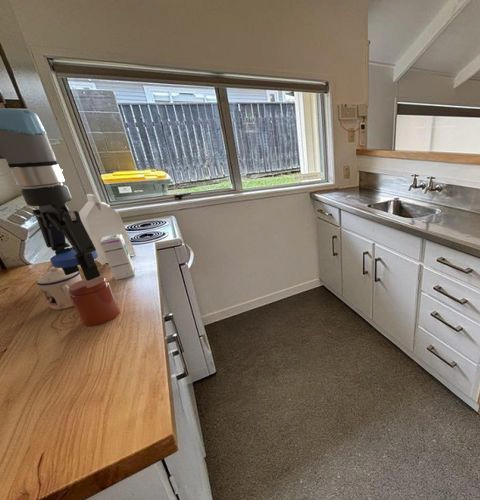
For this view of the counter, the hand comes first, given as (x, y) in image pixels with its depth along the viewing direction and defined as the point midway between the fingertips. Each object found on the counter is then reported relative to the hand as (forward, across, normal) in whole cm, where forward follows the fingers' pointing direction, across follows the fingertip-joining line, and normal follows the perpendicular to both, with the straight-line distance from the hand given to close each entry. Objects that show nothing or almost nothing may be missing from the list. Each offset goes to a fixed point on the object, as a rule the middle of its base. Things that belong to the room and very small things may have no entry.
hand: (82, 275), depth 72 cm
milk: (+13, +44, -29) cm, 55 cm away
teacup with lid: (+13, +17, -2) cm, 21 cm away
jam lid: (-5, 0, 0) cm, 5 cm away
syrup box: (+13, +21, -19) cm, 31 cm away
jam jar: (+13, 0, 0) cm, 13 cm away
